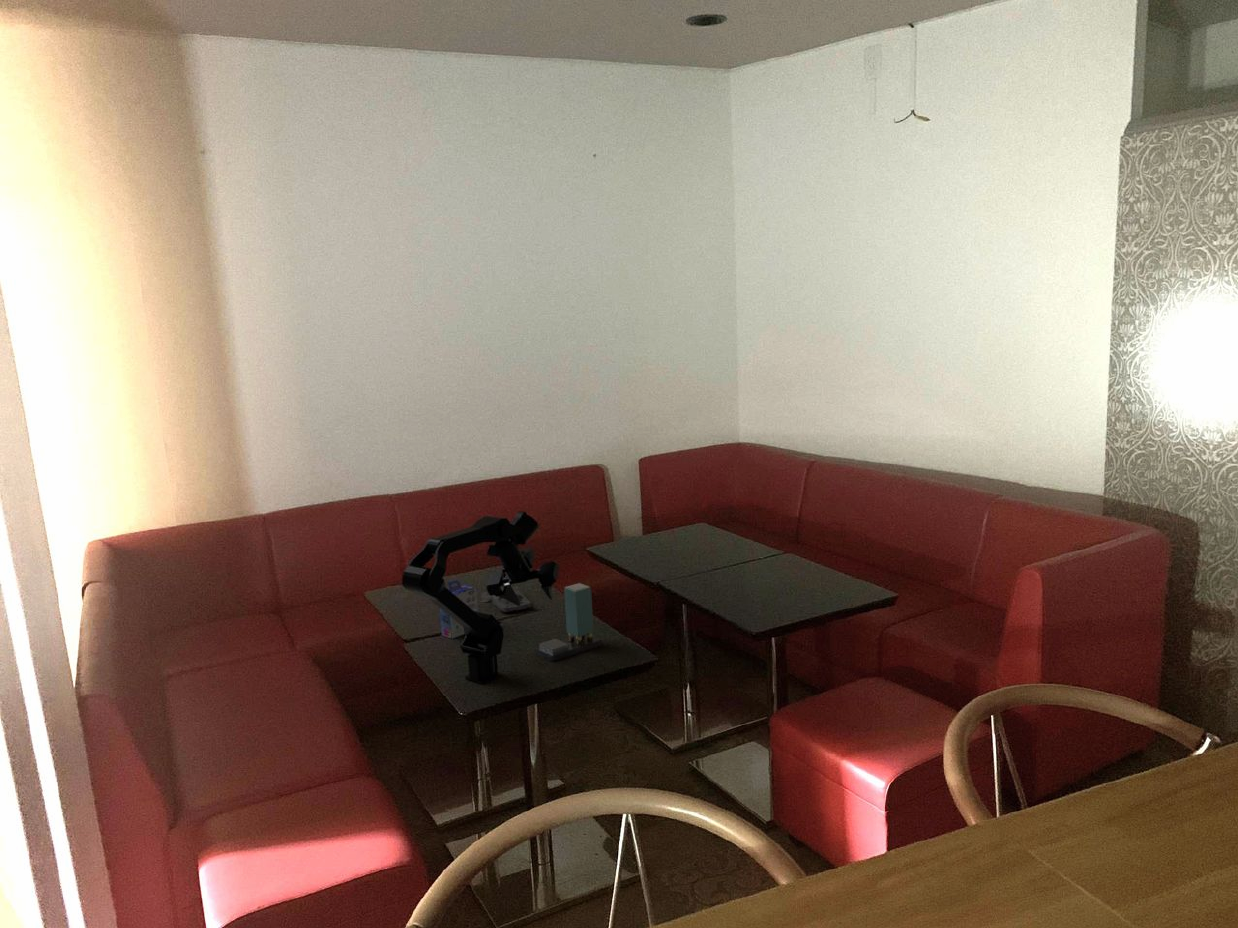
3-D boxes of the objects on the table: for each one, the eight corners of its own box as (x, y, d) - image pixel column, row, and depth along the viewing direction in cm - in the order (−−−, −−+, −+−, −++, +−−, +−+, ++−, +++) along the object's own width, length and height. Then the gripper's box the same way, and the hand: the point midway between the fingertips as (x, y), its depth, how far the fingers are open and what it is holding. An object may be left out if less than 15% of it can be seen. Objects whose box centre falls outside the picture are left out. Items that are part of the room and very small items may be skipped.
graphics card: (480, 592, 290) (517, 585, 294) (481, 604, 290) (518, 596, 295) (494, 608, 274) (534, 600, 278) (495, 620, 275) (535, 612, 279)
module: (578, 637, 244) (575, 590, 242) (566, 632, 248) (563, 587, 246) (593, 632, 248) (590, 586, 245) (582, 627, 251) (579, 582, 249)
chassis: (552, 661, 238) (551, 648, 237) (534, 653, 244) (533, 640, 244) (602, 644, 248) (601, 632, 247) (584, 637, 254) (583, 625, 253)
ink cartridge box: (468, 625, 269) (464, 576, 267) (480, 629, 265) (476, 579, 263) (439, 635, 262) (435, 584, 260) (452, 639, 258) (447, 588, 256)
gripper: (550, 529, 239) (573, 573, 247) (485, 543, 245) (509, 586, 253) (542, 558, 230) (566, 603, 238) (474, 572, 236) (500, 616, 244)
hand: (535, 601), depth 244 cm, fingers open, 9 cm apart
